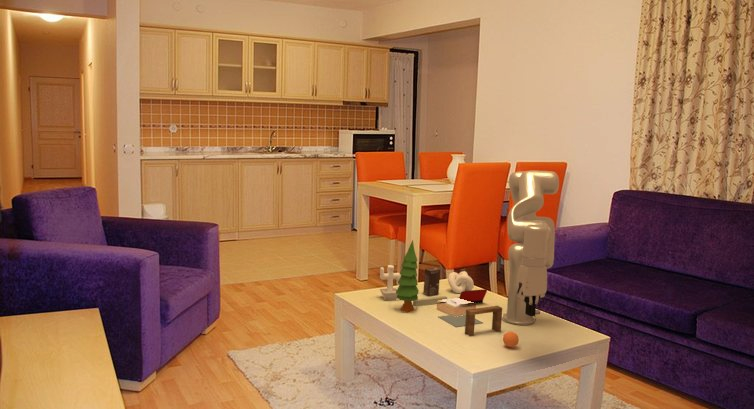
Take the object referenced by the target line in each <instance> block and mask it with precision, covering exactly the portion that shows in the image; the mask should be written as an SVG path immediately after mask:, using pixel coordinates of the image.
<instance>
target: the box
mask: <svg viewBox="0 0 754 409" xmlns="http://www.w3.org/2000/svg"><path fill="white" fill-rule="evenodd" d="M440 281H441V269H440V268H437V267H429V268H428V267H427V268H425V269H424V280H423V290H422V291H423V295H424V296H427V297H432V296H439V291H440Z"/></svg>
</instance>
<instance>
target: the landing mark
mask: <svg viewBox="0 0 754 409" xmlns="http://www.w3.org/2000/svg"><path fill="white" fill-rule="evenodd" d="M451 315H452V314H448V315H440V316H437V318H439V319H440V320H442V321H444V322H445V323H448V324H449V325H450V326H452V327H455V328H460V327H465V321H466V315H463V316H458V317H457V316H456V317H454V316H451ZM481 324H484V322H483V321H481V320H480V319H477V318H475V325H481Z"/></svg>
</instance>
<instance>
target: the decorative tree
mask: <svg viewBox="0 0 754 409" xmlns="http://www.w3.org/2000/svg"><path fill="white" fill-rule="evenodd" d="M417 262H418V258H417V254H416V251H415V246H414V240H413V239H412V240H411V243H410V245H409V247H408V249H407V251H406V254H405V256H404V257H403V261H402V263H401V265H400V266H401V270H400V272H399V273H400V275H401V277H400V279H399V281H398V284H400V285H398V287H397V288H396V289H397V291H396V293H398V295H397V299H398V300H399V301H404V302H403V304H402V307H401V308H400V311H401V312H404V313H413V312H414V311H415V306H413V301H415V300H418V299H419V296H418V295H419V288H418V279H417V277H418V273H417V269H418V263H417Z"/></svg>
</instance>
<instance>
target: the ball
mask: <svg viewBox="0 0 754 409" xmlns="http://www.w3.org/2000/svg"><path fill="white" fill-rule="evenodd" d="M519 341H520V339H519V336H518V334H517V333H515V332H514V331H506V332H505V333H504V335H503V336H502V342H503V345H505V346H506V347H508V348H515V347H517V345H518V344H519Z"/></svg>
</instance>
